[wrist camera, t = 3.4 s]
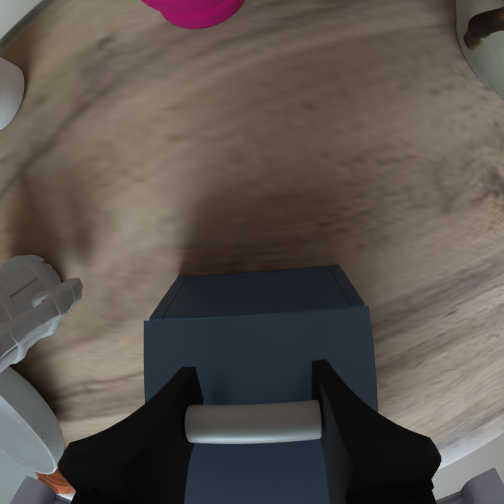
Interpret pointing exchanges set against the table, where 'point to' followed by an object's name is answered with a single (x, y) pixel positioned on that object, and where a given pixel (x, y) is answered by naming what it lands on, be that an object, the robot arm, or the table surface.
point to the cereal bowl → (28, 425)
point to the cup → (10, 91)
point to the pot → (56, 482)
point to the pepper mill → (195, 11)
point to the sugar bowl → (483, 39)
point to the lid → (260, 398)
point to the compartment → (258, 294)
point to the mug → (31, 304)
